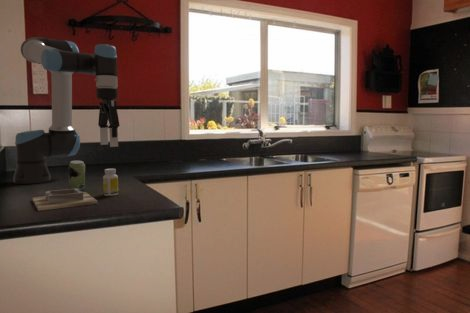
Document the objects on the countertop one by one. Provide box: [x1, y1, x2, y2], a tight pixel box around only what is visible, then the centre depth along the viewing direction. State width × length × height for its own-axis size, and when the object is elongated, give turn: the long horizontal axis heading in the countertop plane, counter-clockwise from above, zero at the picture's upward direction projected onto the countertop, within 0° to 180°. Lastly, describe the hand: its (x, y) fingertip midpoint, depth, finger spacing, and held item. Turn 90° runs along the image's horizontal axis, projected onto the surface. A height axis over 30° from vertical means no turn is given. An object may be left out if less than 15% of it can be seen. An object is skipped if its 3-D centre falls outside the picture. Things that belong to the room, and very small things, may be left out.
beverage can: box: [68, 159, 86, 192], centre depth 150 cm, size 6×7×12 cm
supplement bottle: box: [102, 168, 119, 197], centre depth 141 cm, size 5×5×10 cm
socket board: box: [31, 188, 99, 212], centre depth 129 cm, size 18×18×4 cm
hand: (109, 145), depth 140 cm, fingers open, 13 cm apart
